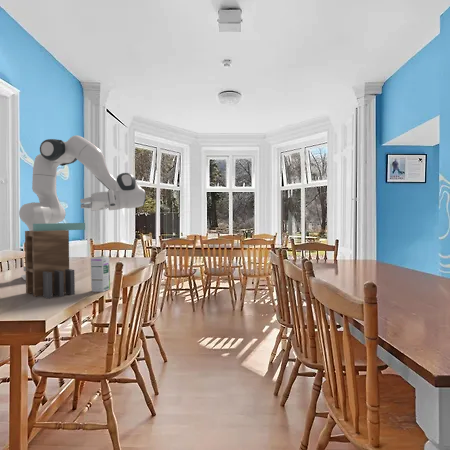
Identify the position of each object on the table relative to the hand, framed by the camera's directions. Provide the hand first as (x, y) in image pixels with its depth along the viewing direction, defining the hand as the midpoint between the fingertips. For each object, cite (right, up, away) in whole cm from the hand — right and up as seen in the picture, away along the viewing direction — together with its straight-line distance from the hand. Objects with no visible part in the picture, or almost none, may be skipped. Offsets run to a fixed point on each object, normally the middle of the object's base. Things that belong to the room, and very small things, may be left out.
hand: (80, 203), depth 174 cm
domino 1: (-4, -38, -24) cm, 45 cm away
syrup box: (+13, -38, -11) cm, 42 cm away
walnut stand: (-8, -38, -14) cm, 41 cm away
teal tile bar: (-5, -12, -11) cm, 17 cm away
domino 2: (-1, -38, -21) cm, 44 cm away
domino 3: (+2, -38, -18) cm, 42 cm away
